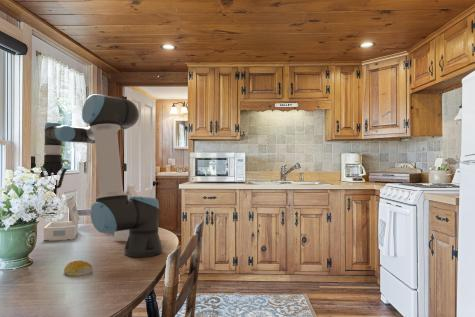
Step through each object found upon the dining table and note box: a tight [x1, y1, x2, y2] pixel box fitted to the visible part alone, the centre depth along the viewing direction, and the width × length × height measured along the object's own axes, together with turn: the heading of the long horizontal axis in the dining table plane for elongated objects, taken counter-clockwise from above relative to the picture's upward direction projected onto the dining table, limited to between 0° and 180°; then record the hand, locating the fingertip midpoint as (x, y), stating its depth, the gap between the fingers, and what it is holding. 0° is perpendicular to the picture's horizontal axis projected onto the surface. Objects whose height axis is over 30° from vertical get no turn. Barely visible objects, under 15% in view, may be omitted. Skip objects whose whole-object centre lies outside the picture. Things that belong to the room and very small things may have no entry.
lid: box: [65, 195, 80, 226], centre depth 177 cm, size 16×13×1 cm
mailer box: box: [43, 220, 79, 241], centre depth 176 cm, size 16×13×6 cm
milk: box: [113, 184, 142, 242], centre depth 174 cm, size 12×12×26 cm
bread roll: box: [63, 260, 93, 277], centre depth 120 cm, size 8×9×4 cm
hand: (52, 202), depth 174 cm, fingers closed
